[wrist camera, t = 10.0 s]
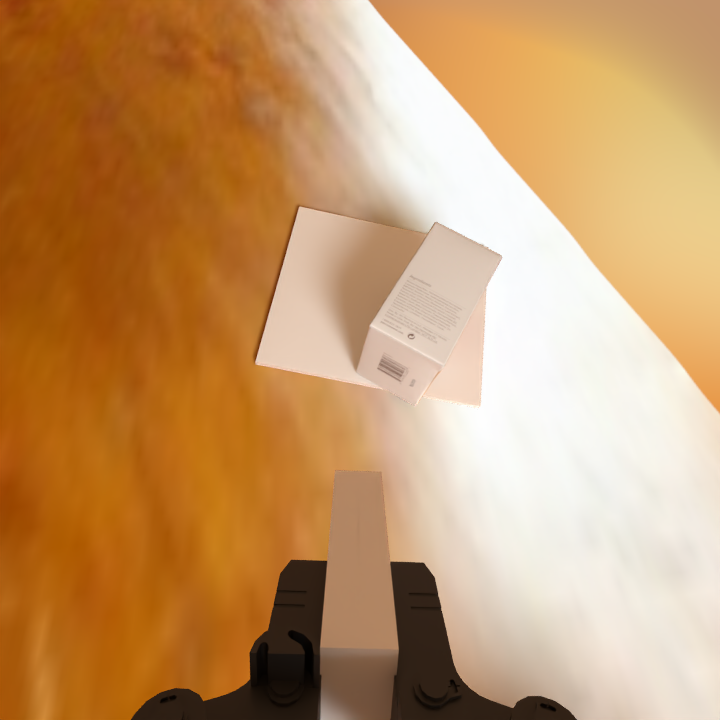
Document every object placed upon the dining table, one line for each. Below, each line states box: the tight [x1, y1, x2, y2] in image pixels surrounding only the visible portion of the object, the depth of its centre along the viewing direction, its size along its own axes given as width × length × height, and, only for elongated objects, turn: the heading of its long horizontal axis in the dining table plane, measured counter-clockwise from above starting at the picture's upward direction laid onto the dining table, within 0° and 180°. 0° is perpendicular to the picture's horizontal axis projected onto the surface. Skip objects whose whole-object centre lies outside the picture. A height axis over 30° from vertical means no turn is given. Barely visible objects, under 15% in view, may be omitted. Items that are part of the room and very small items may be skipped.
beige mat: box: [255, 206, 488, 408], centre depth 40 cm, size 16×18×1 cm
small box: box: [356, 222, 502, 406], centre depth 35 cm, size 8×6×10 cm
